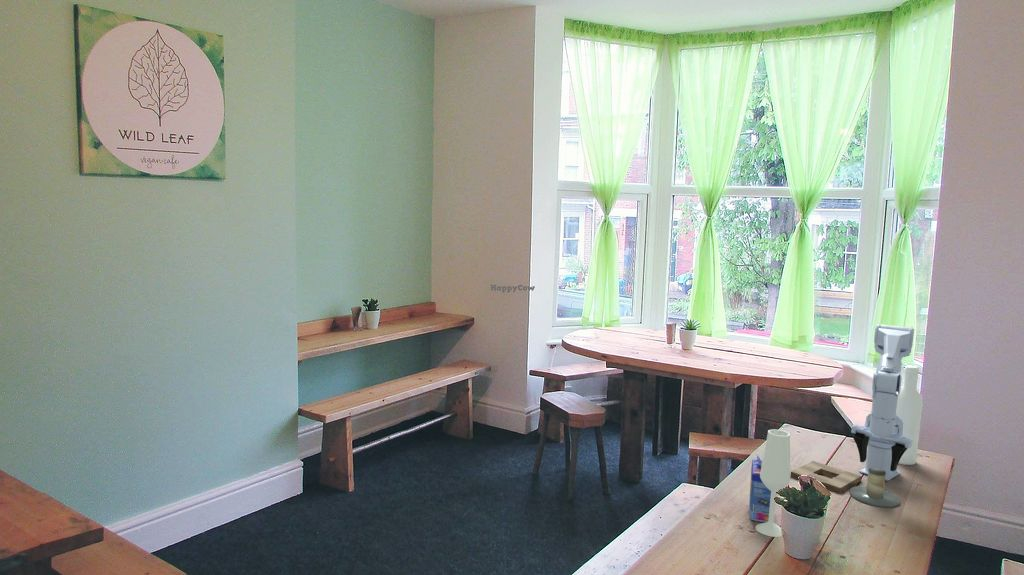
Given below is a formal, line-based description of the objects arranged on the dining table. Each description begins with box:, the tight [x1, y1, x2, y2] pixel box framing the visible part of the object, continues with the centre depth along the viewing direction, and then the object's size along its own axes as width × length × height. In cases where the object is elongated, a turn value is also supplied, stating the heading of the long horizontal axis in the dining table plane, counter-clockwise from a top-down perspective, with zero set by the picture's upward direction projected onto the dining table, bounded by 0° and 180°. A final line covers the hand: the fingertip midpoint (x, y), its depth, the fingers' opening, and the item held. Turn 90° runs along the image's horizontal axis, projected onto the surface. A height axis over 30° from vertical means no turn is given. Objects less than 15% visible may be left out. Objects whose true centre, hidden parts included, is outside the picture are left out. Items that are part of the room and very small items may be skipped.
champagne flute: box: [755, 429, 791, 538], centre depth 160 cm, size 7×7×24 cm
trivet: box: [849, 485, 901, 508], centre depth 182 cm, size 12×12×1 cm
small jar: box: [866, 467, 886, 498], centre depth 182 cm, size 4×4×7 cm
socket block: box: [790, 460, 863, 494], centre depth 194 cm, size 14×14×2 cm
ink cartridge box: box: [748, 455, 771, 523], centre depth 169 cm, size 10×6×14 cm, turn 161°
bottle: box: [895, 364, 924, 466], centre depth 209 cm, size 8×8×30 cm
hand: (877, 465), depth 181 cm, fingers open, 7 cm apart
